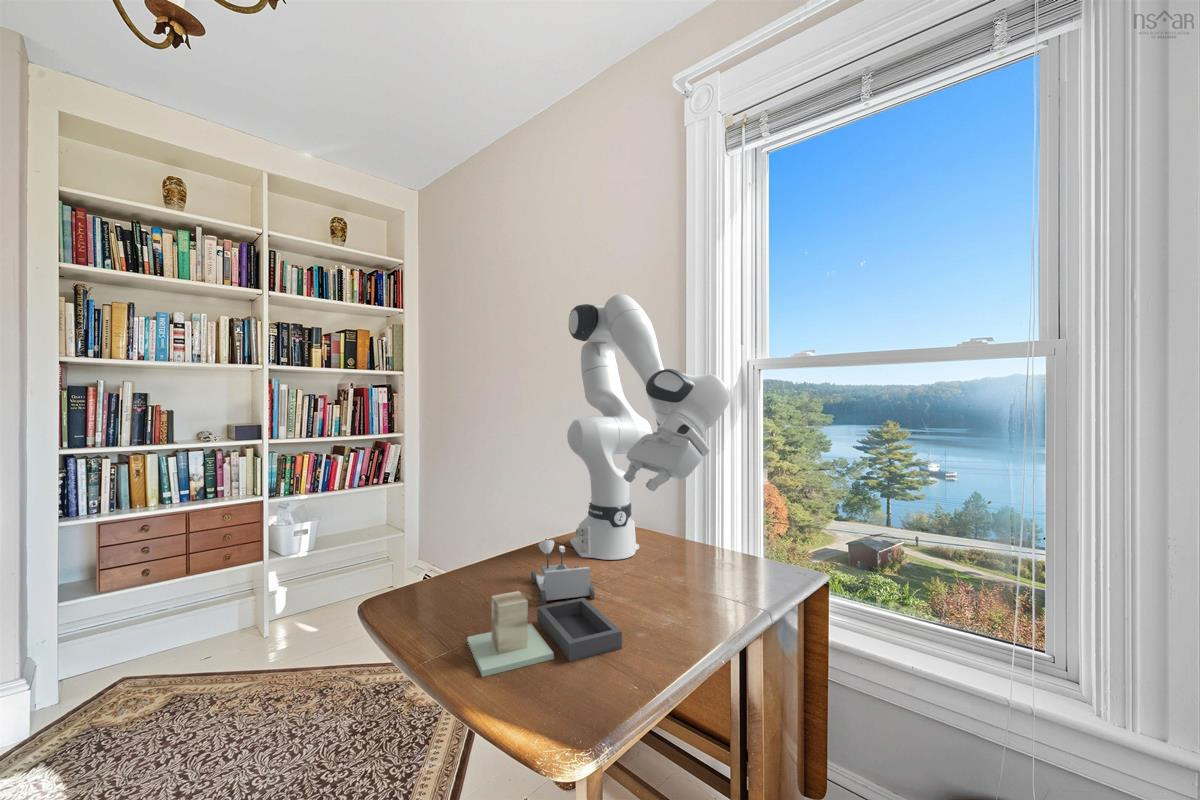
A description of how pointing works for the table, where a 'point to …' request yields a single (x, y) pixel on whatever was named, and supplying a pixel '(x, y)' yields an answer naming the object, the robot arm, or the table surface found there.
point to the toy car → (561, 578)
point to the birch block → (509, 622)
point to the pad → (497, 663)
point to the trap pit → (579, 629)
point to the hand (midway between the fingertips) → (637, 484)
